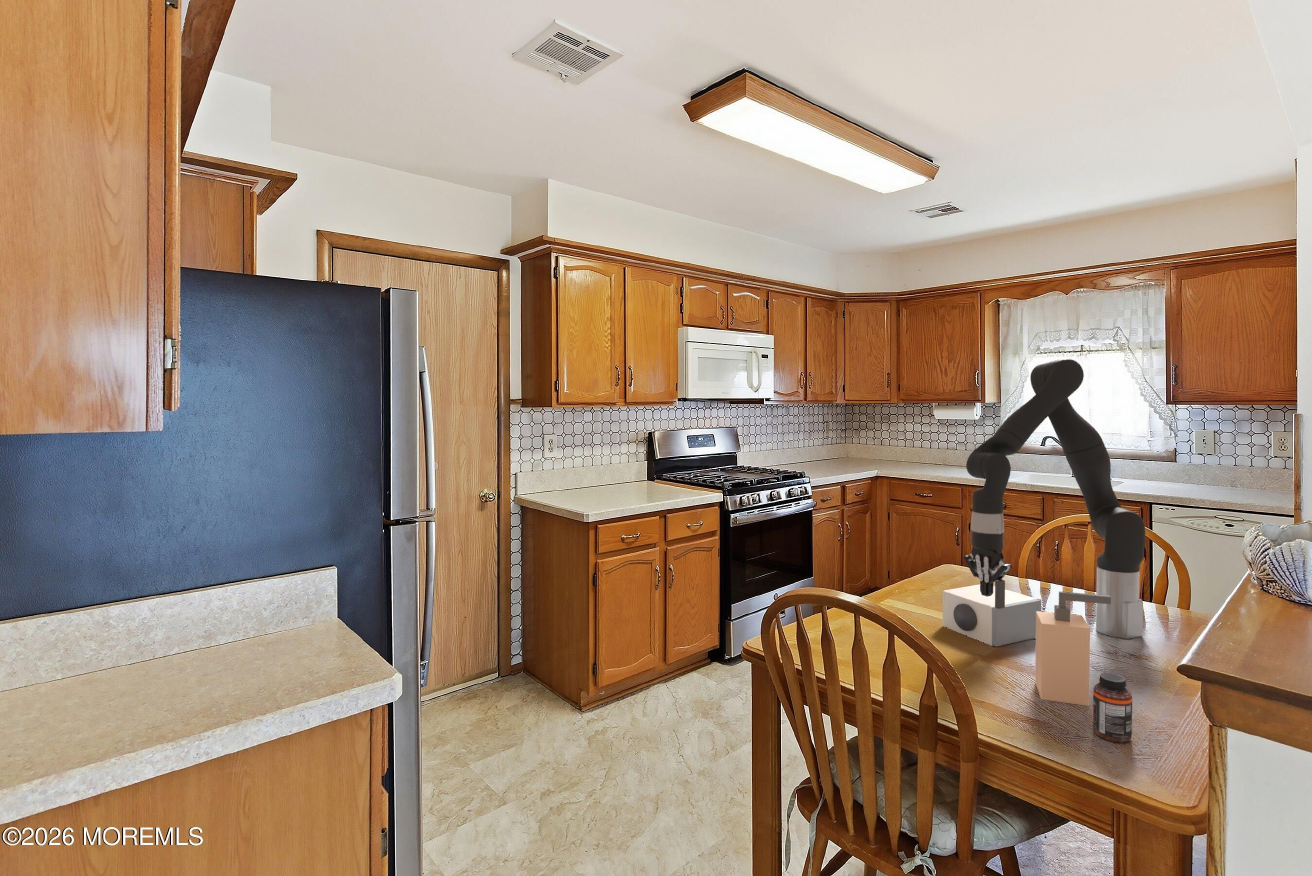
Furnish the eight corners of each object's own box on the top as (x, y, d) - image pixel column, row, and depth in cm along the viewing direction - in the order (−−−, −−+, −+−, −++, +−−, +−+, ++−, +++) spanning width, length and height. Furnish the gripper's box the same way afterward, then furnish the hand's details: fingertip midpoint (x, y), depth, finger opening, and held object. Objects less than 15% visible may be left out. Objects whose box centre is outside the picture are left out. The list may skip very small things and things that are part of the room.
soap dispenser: (1040, 699, 136) (1041, 596, 135) (1035, 682, 144) (1036, 585, 142) (1113, 709, 131) (1115, 602, 129) (1103, 691, 139) (1105, 590, 137)
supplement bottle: (1094, 724, 125) (1095, 667, 124) (1132, 734, 121) (1133, 675, 121) (1090, 737, 120) (1091, 678, 120) (1130, 747, 117) (1131, 686, 116)
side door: (1043, 636, 170) (1044, 573, 169) (997, 646, 164) (997, 581, 163) (1038, 634, 171) (1038, 572, 170) (992, 644, 165) (992, 580, 164)
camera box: (1036, 636, 171) (1036, 598, 170) (989, 646, 165) (989, 607, 164) (985, 617, 186) (985, 583, 185) (940, 626, 180) (940, 591, 179)
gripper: (955, 526, 171) (954, 591, 172) (1000, 535, 159) (999, 604, 160) (975, 523, 174) (974, 587, 175) (1020, 532, 162) (1020, 600, 163)
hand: (986, 595), depth 168 cm, fingers closed
